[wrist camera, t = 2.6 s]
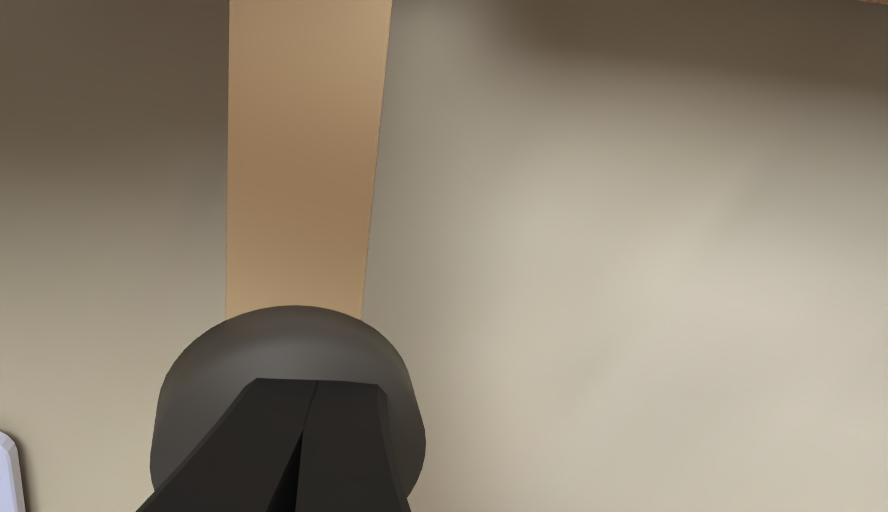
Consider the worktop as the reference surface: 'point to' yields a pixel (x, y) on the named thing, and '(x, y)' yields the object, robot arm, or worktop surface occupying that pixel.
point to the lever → (295, 224)
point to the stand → (875, 1)
